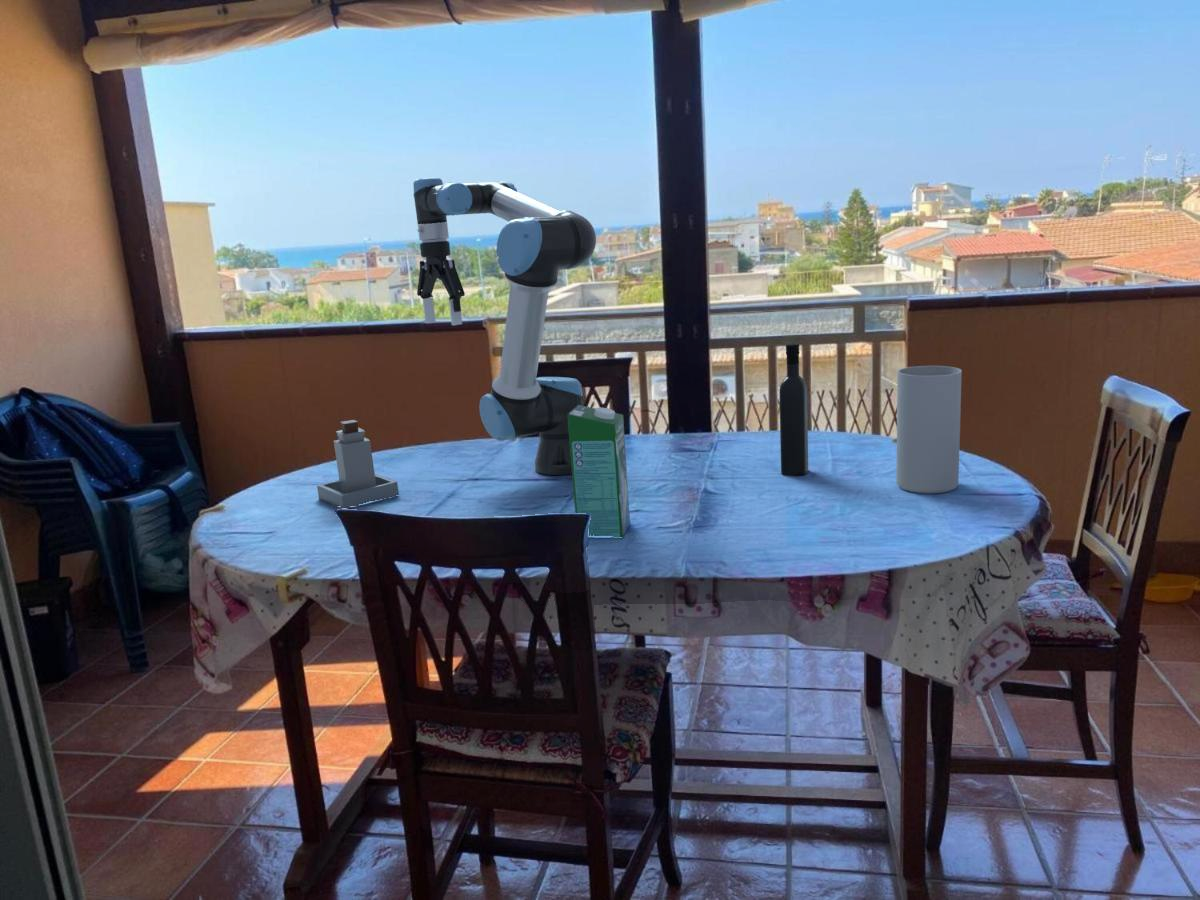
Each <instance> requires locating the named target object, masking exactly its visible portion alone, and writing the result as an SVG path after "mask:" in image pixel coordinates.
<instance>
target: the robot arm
mask: <svg viewBox="0 0 1200 900" xmlns="http://www.w3.org/2000/svg"><path fill="white" fill-rule="evenodd" d="M412 185H413V198H414V199H413V200H414V207H415V213H416V221H417V233H418V237H419V240H420V241H421V243H420V244H419V247H420V248H419V249H420V256H421V257H422V258H426V259H424V260H420V261H419V275H418V283H417V291H416V295H417V296H418V297H419V296H420V298H421V299H422V304H423V305H422V306H423V314H424V322H425V324H433V323H436V322H437V321H436V313H435V312H436V311H435V303H434V295H433V291H434V287H435V284H436V281H437V279H438V280H440V281H441V283H442V284H443V286H444V288H445V290H446V292H447V293H448V295H449V297H448V304H449V311H450V312H449V313H450V314H449V315H450V320H451V326H458V325H463V319H462V306H461V298H462V297H465V290H464V288H463V285H462V282H461V279H460V277H459V273H458V271H457V269H456V263H455V259H452V258H451V259H447V257H449V256H450V255H451V246H450V242H449V240H448V239H449V238H450V236H449V235H450V233H449V228H448V227H449V226H448V220H447V216H459V215H461V216H462V215H476V214H477V215H478V214H492V215H494V216H496V217H498V218H501V219H502V220H504V221H506V222H508V223H506V224H505V225H504V226H503V227H502V228H501V230H500V232H499V234H498V238H497V242H496V251H495V252H496V256H497V258H498V259H497V263H498V266H499V268H500V269H501V270H502V272H503V273H504V277H505V279H506V280H507V281H508V283H509V284H510V287H509V294H508V304H507V312H506V319H505V329H504V337H503V345H502V354H501V361H500V368H499V369H500V371H499V375H498V376H497V377H496V378H494V379H493V380H492V382H491V383H492V384H491V391H490V393H485V395H483V396H482V397H481V398H480V401H479V415H480V418H481V422H482V423H483V426H484V428H485V430H486V432H487V433H488V434H489V436H490V437H492V439H494V440H495V441H498V442H499V441H500V442H503V441H508V440H511V441H514V440H515V439H518V438H524V437H527V436H531V435H536V434H538V435H539V441H538V445H537V451H536V456H535V459H534V470H535V472H537V473H539V474H542V475H546V476H565V475H572V465H571V453H570V440H569V428H568V414H569V413H570V412H571V411H572V410H573V409H574V408H576V407H577V406H578V405H581V406H584V395H583V388H582V383H581V382H580V381H579V380H578V379H577V378H573V377H572V378H571V377H564V376H563V377H562V376H539V377H537V374H538V369H539V361H540V353H541V347H542V340H543V334H544V326H545V320H546V319H545V318H546V312H547V304H548V300H549V299H548V298H549V291H550V289H552V288H553V287H555V286H556V285H557V284H558V283H557V282H558V277H559V273H560V272H559V271H564V270H570V269H575V268H578V267H581V266H583V265H584V264H585V263H586V262H588V260H590V258H591V257H592V255H593V253H594V251H595V249H596V244H597V235H596V231H595V228H594V226H593V225H592V223H591V222H590V221H589V220H588V219H587V218H586V217H584V216H582V215H581V214H578V213H576V212H574V211H572V210H568V209H566V210H562V211H560V210H558V209H556V208H554V207H551V206H550V205H547V204H546V203H542V202H541V201H538V200H536V199H534V198H531V197H529V196H527V195H525V194H522V193H520V192H519V191H518V189H517V188H516V187H515V185H514V183H512V182H509V181H501V180H499V181H498V180H497V181H488V182H487V181H486V182H485V181H484V182H456V181H455V182H446V183H444V182H443V180H442V178H441V177H428V178H427V177H424V178H418V179H415V180H414V181H413V183H412Z"/></svg>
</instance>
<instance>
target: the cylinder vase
mask: <svg viewBox="0 0 1200 900" xmlns="http://www.w3.org/2000/svg"><path fill="white" fill-rule="evenodd" d="M962 372H963V371H962V369H961V368H958V367H954V366H946V365H919V366H907V367H904V368H903V367H902V368H901V369H898V370H897V383H896V384H897V389H896V390H897V393H896V394H897V395H896V396H897V397H896V402H897V403H896V408H897V409H896V478H895V480H896V485H897V486H898V487H899V489H902V490H904V491H906V492H910V493H917V494H924V495H925V494H927V495H928V494H930V495H933V494H935V495H936V494H944V493H949V492H952V491H954V490H955V489H957V487H959V482H960V481H959V480H960V479H959V475H960V471H959V470H960V447H961V446H960V443H961V442H960V437H961V409H962V408H961V405H962V404H961V403H962V377H963V376H962Z"/></svg>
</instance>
